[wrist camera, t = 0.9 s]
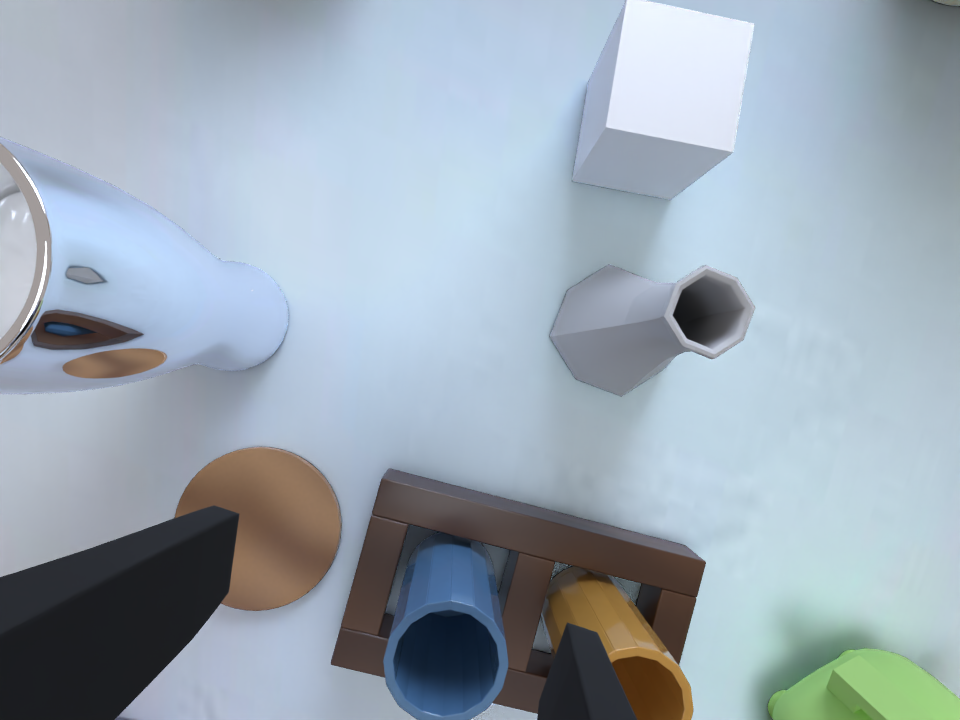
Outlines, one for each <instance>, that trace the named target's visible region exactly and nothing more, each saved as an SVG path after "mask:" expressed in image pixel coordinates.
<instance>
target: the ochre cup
mask: <svg viewBox="0 0 960 720" xmlns="http://www.w3.org/2000/svg"><path fill="white" fill-rule="evenodd" d="M541 619H542V622H543V628H544V631H545V634H546V637H547V640H548V644H549V647H550V650H551V653H552V656H553V659H554V658H555V655H556V652H557V649H558V646H559V643H560V641H561V638H562V635H563V632H564V629H565V627H566V624H567V622H568V623H571V624H574V625H577V626H580V627H583V628H586V629H589V630H592V631H595V632H597V633H598V635H599V637H600V639H601V641H602V643H603V645H604V648H605V650H606V652H607V654H608V657H609V659H610V661H611V663H612V666H613V668H614V670H615V672H616V675H617V677H618V679H619V681H620V683H621V686H622V688H623V690H624V692H625V694H626V696H627V699H628V701H629V703H630V705H631V707H632V709H633V712H634V714H635V716H636V718H637V720H691V718H692V714H693V702H692V694H691V687H690V684H689V682H688V681H687V679H686V677H685V675H684V674H683V672H682V670H681V668H680V667H679V665H678V664H677V662H676V661H675V660H674V658H673V657H672V656H671V654H670V653H669V651H668V650H667V649H666V647H665V646H664V644H663V643H662V642H661V640H660V639H659V638H658V636H657V635H656V633H655V632H654V631H653V629H652V628H651V627H650V625H649V624H648V622H647V621H646V620H645V618H644V617H643V615H642V614H641V613H640V611H639V610H638V609H637V607H636V606H635V604H634V603H633V602H632V600H631V599H630V597H629V596H628V595H627V593H626V592H625V591H624V589H623V588H622V586H621V585H620V584H619V583H618V582H617V581H616V579H615V578H614V577H613V576H611V575H607V574H603V573H599V572H596V571H592V570H588V569H584V568H580V567H576V566H573V567H570V568H567V569H565V570H563V571H561V572H560V573H559V574H557V575H556V576H555V577H554V578H553V579H552V580H551V581H550V583H549V586H548V590H547V594H546V597H545V601H544V605H543V609H542V612H541Z"/></svg>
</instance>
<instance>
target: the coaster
mask: <svg viewBox="0 0 960 720" xmlns="http://www.w3.org/2000/svg"><path fill="white" fill-rule="evenodd" d="M213 505H215V506H218V507H221V508H224V509H227V510H230V511H233V512H236V513H239V521H238V529H237V536H236V543H235V551H234V558H233V565H232V573H231V580H230V588H229V593H228V594H227V596H226V597H225V598H224V599H223V601H222V602H221V604H223V605H226V606H229V607H232V608H236V609H241V610H251V611H260V610H269V609H274V608H278V607H281V606H284V605H287V604H289V603H291V602H293V601H295V600H297V599H299V598H301V597H302V596H304V595H305V594H307V593H308V592H309V591H310V590H311V589H313V588H314V587H315V586H316V585H317V584H318V583H319V581H320V580H321V579H322V578H323V577H324V575H325V574H326V572H327V571H328V569H329V568H330V566H331V564H332V562H333V560H334V558H335V556H336V553H337V550H338V547H339V543H340V538H341V514H340V509H339V505H338V502H337V499H336V496H335V494H334V492H333V490H332V488H331V486H330V484H329V483H328V481H327V480H326V478H325V477H324V476H323V475H322V474H321V473H320V472H319V470H318V469H316V468H315V467H314V466H313V465H312V464H311V463H309V462H308V461H306V460H305V459H303V458H302V457H300V456H298V455H295V454H293V453H291V452H288V451H285V450H282V449H277V448H272V447H250V448H245V449H240V450H237V451H234V452H231V453H228V454H225V455H223V456H221V457H219V458H217V459H215V460H214V461H212V462H211V463H209V464H208V465H206V466H205V467H204V468H203V469H202V470H201V471H199V472H198V473H197V475H196V476H195V477H194V478H193V479H192V480H191V482H190V483H189V484H188V486H187V487H186V489H185V491H184V493H183V494H182V496H181V498H180V501H179V504H178V506H177V509H176V514H175V518H177V517H180V516H183V515H186V514H189V513H191V512H194V511H197V510H200V509H204V508H207V507H210V506H213Z"/></svg>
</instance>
